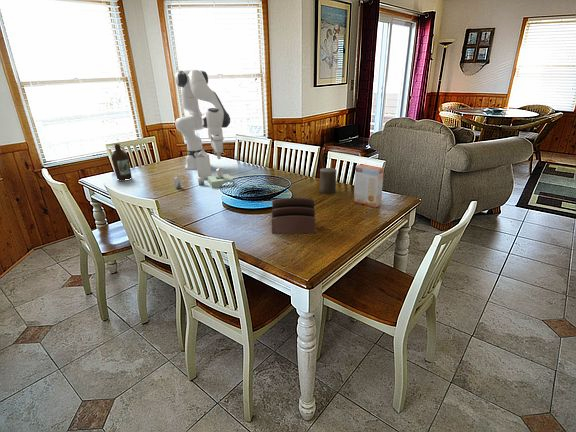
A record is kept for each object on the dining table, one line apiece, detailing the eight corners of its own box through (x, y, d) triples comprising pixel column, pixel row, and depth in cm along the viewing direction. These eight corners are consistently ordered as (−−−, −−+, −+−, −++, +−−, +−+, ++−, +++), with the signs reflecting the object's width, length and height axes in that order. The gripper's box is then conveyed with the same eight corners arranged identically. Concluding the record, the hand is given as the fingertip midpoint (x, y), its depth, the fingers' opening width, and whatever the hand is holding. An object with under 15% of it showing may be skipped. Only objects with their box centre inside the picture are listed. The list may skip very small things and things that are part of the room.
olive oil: (114, 179, 240) (106, 144, 231) (129, 176, 247) (122, 141, 237) (119, 182, 233) (111, 146, 223) (135, 179, 240) (127, 143, 230)
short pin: (198, 184, 226) (197, 177, 224) (204, 183, 227) (203, 176, 225) (199, 185, 222) (198, 178, 221) (205, 185, 224) (204, 177, 222)
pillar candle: (334, 194, 201) (335, 170, 195) (318, 193, 203) (319, 169, 197) (336, 189, 210) (337, 165, 204) (320, 188, 212) (320, 165, 206)
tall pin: (217, 183, 227) (215, 168, 223) (222, 182, 228) (221, 167, 224) (218, 184, 224) (217, 169, 220) (224, 183, 225) (222, 169, 221)
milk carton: (211, 175, 244) (208, 149, 236) (208, 178, 237) (205, 151, 230) (201, 175, 244) (198, 149, 237) (198, 178, 238) (195, 151, 230)
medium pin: (175, 187, 221) (173, 177, 218) (180, 186, 222) (179, 176, 219) (175, 189, 217) (173, 178, 215) (181, 188, 219) (179, 177, 216)
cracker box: (381, 205, 184) (384, 167, 176) (375, 208, 180) (378, 170, 172) (359, 199, 193) (361, 163, 185) (353, 202, 189) (355, 165, 181)
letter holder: (273, 225, 164) (271, 197, 159) (314, 224, 164) (314, 196, 158) (271, 234, 155) (270, 205, 149) (315, 233, 155) (315, 204, 149)
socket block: (208, 182, 230) (207, 176, 228) (228, 179, 234) (228, 173, 233) (212, 188, 218) (211, 182, 216) (233, 185, 222) (233, 179, 221)
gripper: (207, 133, 221) (209, 154, 227) (213, 138, 204) (215, 161, 210) (217, 132, 223) (219, 153, 229) (223, 137, 206) (225, 160, 212)
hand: (217, 157), depth 219 cm, fingers open, 8 cm apart
